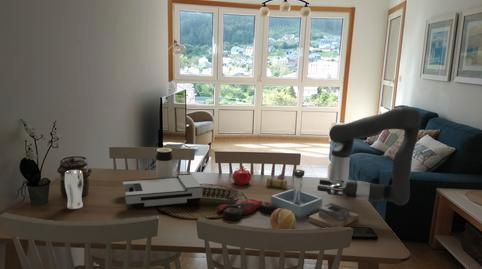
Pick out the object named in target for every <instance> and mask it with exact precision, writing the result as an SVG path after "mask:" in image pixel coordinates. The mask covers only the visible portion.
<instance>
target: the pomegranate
mask: <svg viewBox="0 0 482 269" xmlns="http://www.w3.org/2000/svg"><path fill="white" fill-rule="evenodd" d="M244 167H245V166H244V165H241V167H238V168H236V169H235V170H234V171H233V173H232V175H231V178H232V181H233V183H235V184H236V185H239V186H245V185H248V184H250V182H251V180H252V175H251V172H250V171H249V170H248V167H247V168H246V167H245V168H244Z"/></svg>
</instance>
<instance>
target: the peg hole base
mask: <svg viewBox="0 0 482 269" xmlns="http://www.w3.org/2000/svg"><path fill="white" fill-rule="evenodd" d="M358 218H359V214H357V213H355V212H352V211H351V209H350V208H347V207H344V206H341V205H339V204H336V203H332V202H330V203H328V204H325V205H322V207H320V208H319V210H318V211H317V212H315V213H312V215H311V214H310V215H309V216H308V221H309V222H311V223H313V224H316V225H318V226H321V227H323V228H326V229H328V228H327V227H341V228H342V227H345V226H347V225H348V224H351V223H353V222H355V221H357V220H358Z"/></svg>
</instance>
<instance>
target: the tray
mask: <svg viewBox="0 0 482 269" xmlns="http://www.w3.org/2000/svg"><path fill="white" fill-rule="evenodd" d="M293 189H294V188H292V189H288V190H285V191H283V192H279V193H276V194H273V195H271V196H270V203H273V204H274V205H276V207H277V209H278V208H283V209H288V210H290V211H292V212H293V214H294V215H295V218H297V219H301V218H304V217H306V216H308V215H309V216H310V215H311V214H314V213H317V212H319V208H320V207H323V198H322V197H320V196H317V195H313V194H310V193H308V192H304V191H302V193H301V205H300V206H299V205H297V204H294V203H293Z"/></svg>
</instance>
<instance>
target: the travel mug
mask: <svg viewBox="0 0 482 269" xmlns="http://www.w3.org/2000/svg"><path fill="white" fill-rule="evenodd" d="M156 151H157V152H156V153H157V154H156V156H155V178H169V177H173V154H172V151H173V149H172V148H169V147H160V148H157V149H156Z"/></svg>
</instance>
